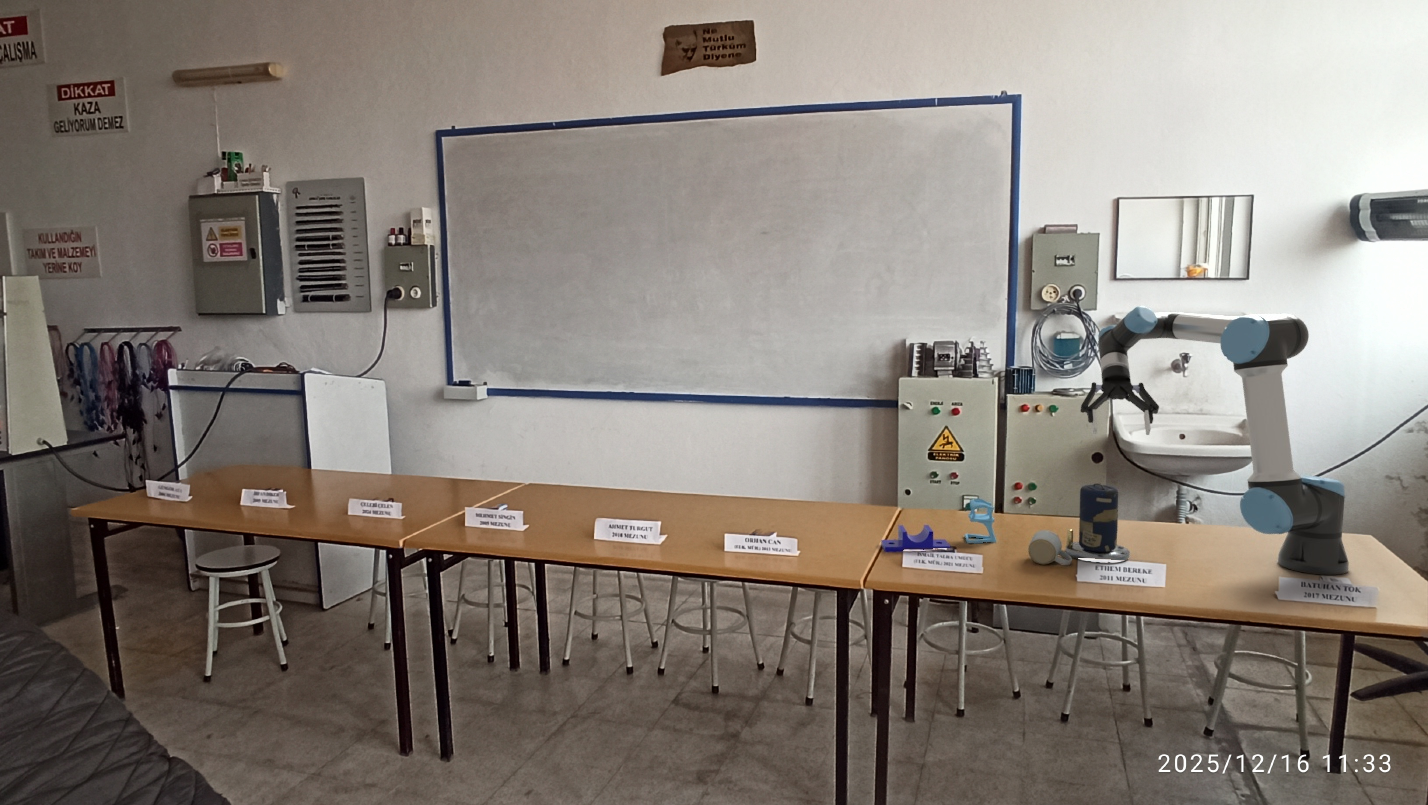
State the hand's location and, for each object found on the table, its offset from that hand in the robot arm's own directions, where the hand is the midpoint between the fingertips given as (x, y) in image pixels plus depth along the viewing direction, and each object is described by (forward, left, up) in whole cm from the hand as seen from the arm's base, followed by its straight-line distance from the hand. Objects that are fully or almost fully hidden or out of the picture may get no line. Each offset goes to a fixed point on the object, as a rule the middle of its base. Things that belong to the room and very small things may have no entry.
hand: (1121, 431), depth 262 cm
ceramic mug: (+20, +22, -32) cm, 43 cm away
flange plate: (+7, +13, -32) cm, 35 cm away
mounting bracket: (+55, +15, -32) cm, 65 cm away
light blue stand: (+37, +4, -32) cm, 49 cm away
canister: (+7, +13, -30) cm, 34 cm away
